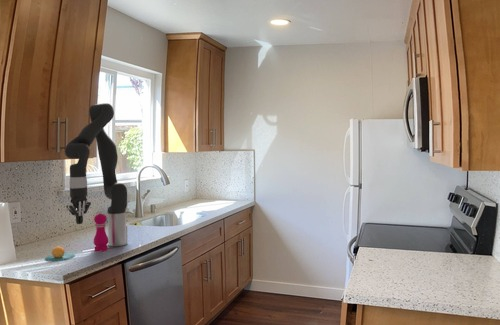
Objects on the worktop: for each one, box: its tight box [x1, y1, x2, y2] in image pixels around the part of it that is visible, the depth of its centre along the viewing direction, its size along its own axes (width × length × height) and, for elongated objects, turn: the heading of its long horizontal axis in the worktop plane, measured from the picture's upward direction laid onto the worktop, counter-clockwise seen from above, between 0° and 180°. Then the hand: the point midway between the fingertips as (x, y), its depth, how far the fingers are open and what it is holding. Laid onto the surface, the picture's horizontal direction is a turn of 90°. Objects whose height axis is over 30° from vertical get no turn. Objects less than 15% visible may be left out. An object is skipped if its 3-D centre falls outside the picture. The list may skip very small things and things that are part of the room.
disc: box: [44, 252, 75, 262], centre depth 197 cm, size 13×13×1 cm
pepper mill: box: [92, 210, 109, 252], centre depth 209 cm, size 7×7×20 cm
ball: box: [51, 245, 65, 258], centre depth 195 cm, size 6×6×6 cm
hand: (79, 223), depth 191 cm, fingers closed
